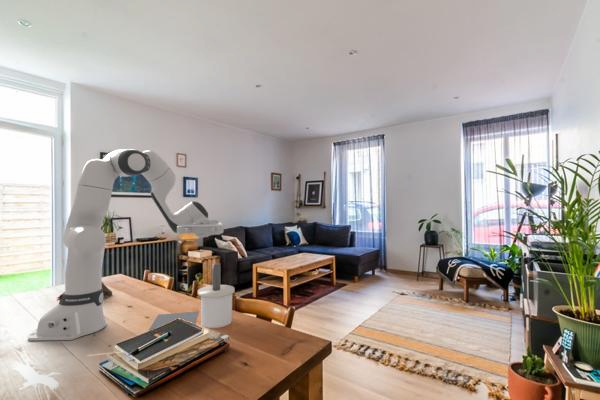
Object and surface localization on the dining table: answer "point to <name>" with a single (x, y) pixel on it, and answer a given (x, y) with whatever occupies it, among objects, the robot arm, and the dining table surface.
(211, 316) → the cup
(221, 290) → the lid
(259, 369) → the dining table surface
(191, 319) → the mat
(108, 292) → the worn brown figurine
